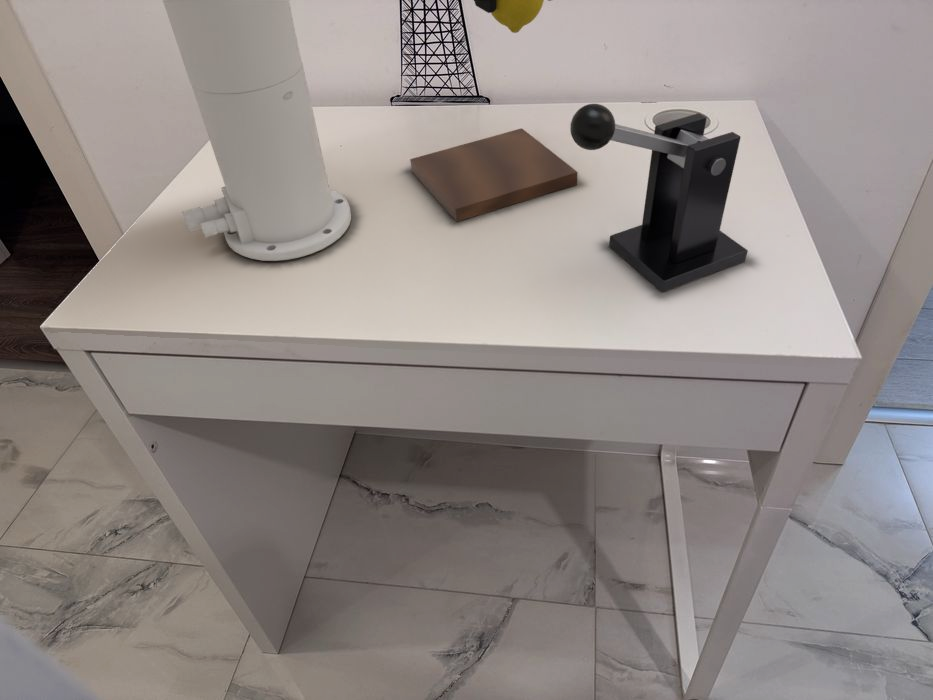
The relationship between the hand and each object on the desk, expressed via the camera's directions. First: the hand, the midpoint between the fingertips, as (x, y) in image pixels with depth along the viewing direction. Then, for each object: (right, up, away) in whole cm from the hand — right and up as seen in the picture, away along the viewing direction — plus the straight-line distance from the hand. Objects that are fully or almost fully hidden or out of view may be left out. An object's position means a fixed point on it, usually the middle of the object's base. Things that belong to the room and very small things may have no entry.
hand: (515, 0), depth 65 cm
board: (-2, -14, +10) cm, 17 cm away
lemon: (0, -2, +2) cm, 3 cm away
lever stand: (+14, -24, -2) cm, 28 cm away
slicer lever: (+9, -18, -11) cm, 23 cm away
